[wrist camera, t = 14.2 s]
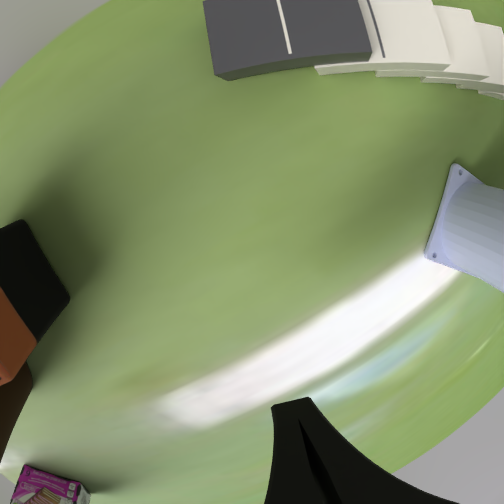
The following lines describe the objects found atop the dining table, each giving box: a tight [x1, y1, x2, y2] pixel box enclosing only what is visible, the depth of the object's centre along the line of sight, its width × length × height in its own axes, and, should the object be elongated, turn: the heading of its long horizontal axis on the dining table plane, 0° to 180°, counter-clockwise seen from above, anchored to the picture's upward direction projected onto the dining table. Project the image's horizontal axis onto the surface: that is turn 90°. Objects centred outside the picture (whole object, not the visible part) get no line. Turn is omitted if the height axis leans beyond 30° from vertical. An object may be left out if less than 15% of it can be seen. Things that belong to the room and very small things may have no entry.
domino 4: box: [420, 22, 504, 90], centre depth 13 cm, size 2×5×8 cm
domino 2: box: [314, 0, 451, 75], centre depth 12 cm, size 2×5×8 cm
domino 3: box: [375, 5, 490, 81], centre depth 12 cm, size 2×5×8 cm
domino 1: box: [203, 0, 372, 81], centre depth 12 cm, size 2×5×8 cm
